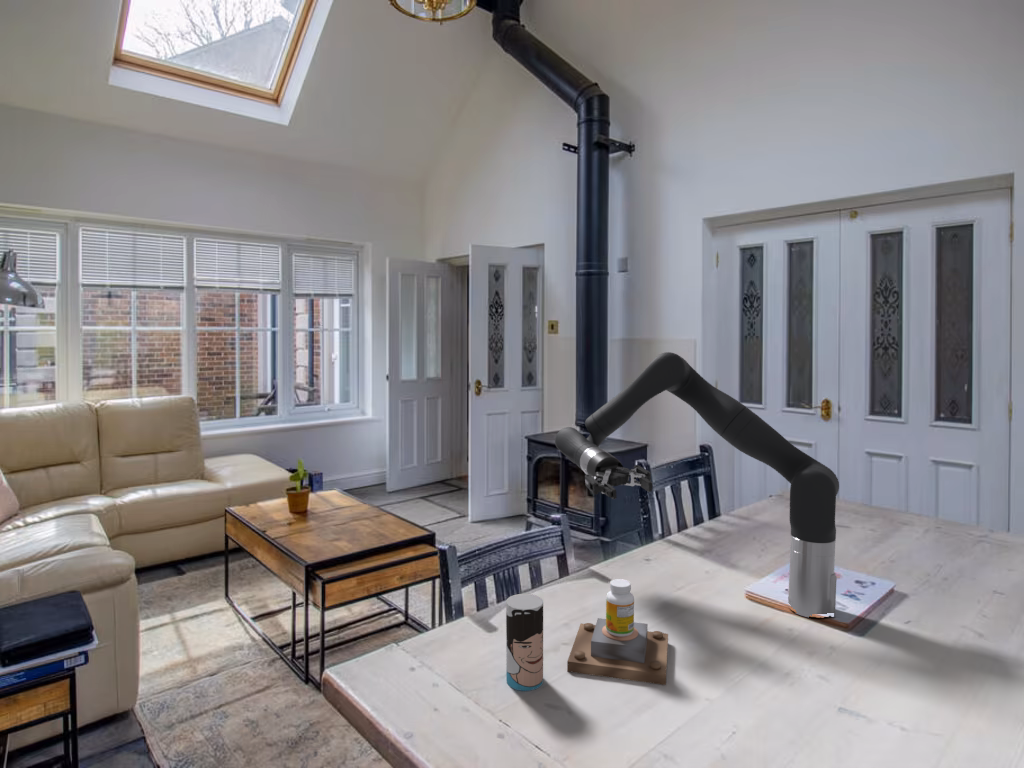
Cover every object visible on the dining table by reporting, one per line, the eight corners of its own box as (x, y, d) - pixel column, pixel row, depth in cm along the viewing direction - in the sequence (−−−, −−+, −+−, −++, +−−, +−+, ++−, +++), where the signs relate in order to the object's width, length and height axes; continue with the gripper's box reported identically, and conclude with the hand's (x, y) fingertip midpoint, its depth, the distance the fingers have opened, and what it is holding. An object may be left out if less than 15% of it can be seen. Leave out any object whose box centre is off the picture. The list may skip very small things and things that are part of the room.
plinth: (667, 643, 130) (668, 618, 130) (665, 685, 115) (666, 657, 114) (580, 632, 135) (580, 608, 134) (567, 671, 119) (567, 644, 119)
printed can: (510, 693, 112) (510, 611, 111) (502, 673, 119) (502, 595, 118) (547, 688, 114) (547, 607, 113) (537, 668, 120) (537, 592, 119)
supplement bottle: (602, 625, 127) (603, 577, 126) (629, 624, 127) (630, 576, 127) (609, 638, 122) (610, 588, 121) (636, 636, 122) (637, 587, 121)
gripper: (572, 456, 150) (602, 481, 135) (626, 446, 154) (661, 469, 139) (573, 486, 152) (603, 513, 137) (627, 475, 156) (662, 501, 140)
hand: (632, 491), depth 138 cm, fingers open, 8 cm apart
